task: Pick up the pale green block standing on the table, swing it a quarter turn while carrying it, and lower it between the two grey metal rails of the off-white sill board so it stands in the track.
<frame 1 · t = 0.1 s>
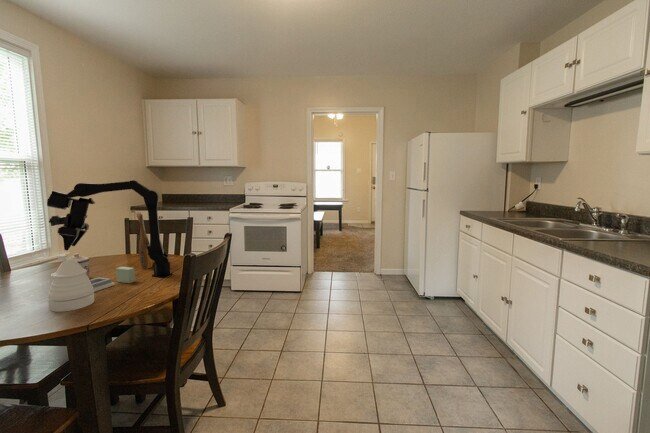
hand: (69, 248, 136), 15 cm above the table, tool pointing down, fingers open, 9 cm apart
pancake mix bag: (145, 266, 168), on the table
pale green block: (125, 281, 142), on the table
teacup with lid: (78, 278, 145), on the table
honey pot: (72, 304, 115), on the table
sill track: (91, 288, 132), on the table
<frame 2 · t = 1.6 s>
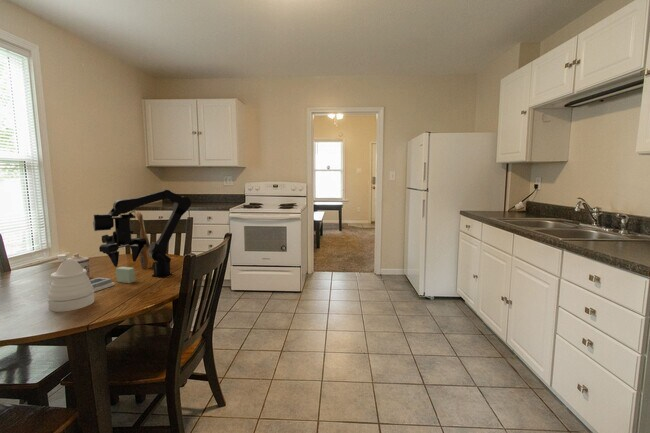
hand: (125, 264, 141), 8 cm above the table, tool pointing down, fingers open, 9 cm apart
nothing on the table moved.
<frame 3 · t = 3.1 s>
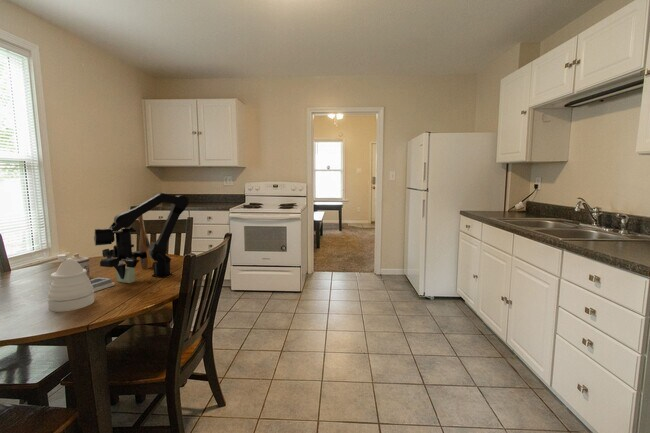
hand: (125, 277, 142), 2 cm above the table, tool pointing down, fingers closed on pale green block, 3 cm apart
pale green block: (126, 281, 142), on the table, touching gripper
everything else where it was.
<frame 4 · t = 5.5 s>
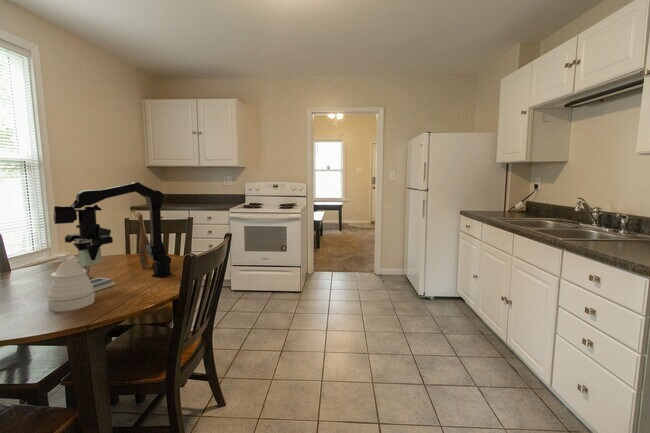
hand: (90, 260, 131), 12 cm above the table, tool pointing down, fingers closed on pale green block, 3 cm apart
pale green block: (90, 263, 131), point 10 cm above the table, touching gripper
everything else where it was.
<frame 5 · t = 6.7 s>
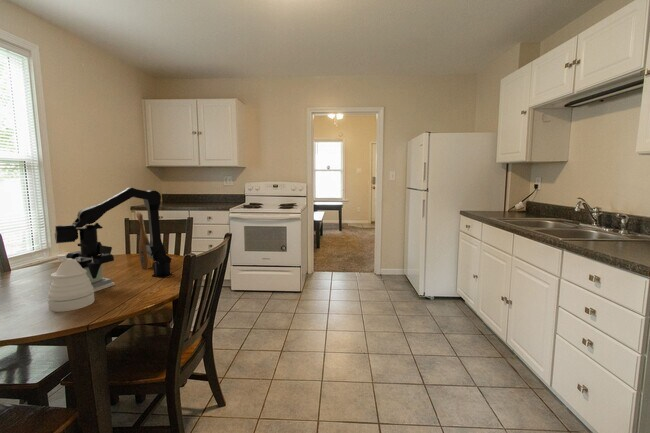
hand: (91, 277, 132), 4 cm above the table, tool pointing down, fingers closed on pale green block, 3 cm apart
pale green block: (91, 281, 132), point 3 cm above the table, touching gripper
everything else where it was.
when the fingers open (3 cm above the table, at t = 7.5 s): pale green block stays where it is, resting on sill track.
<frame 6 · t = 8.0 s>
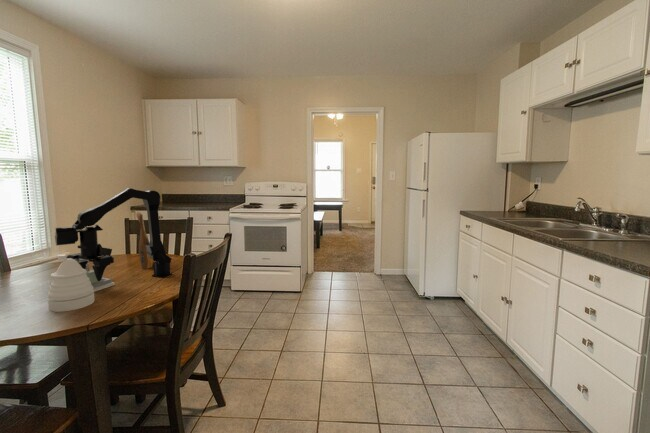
hand: (91, 279, 132), 3 cm above the table, tool pointing down, fingers open, 8 cm apart
pale green block: (92, 285, 132), point 1 cm above the table, touching sill track
everything else where it was.
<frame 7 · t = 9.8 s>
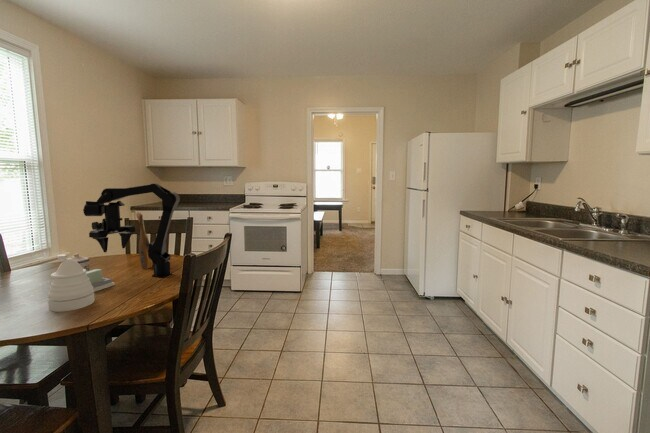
hand: (114, 250, 147), 12 cm above the table, tool pointing down, fingers open, 9 cm apart
nothing on the table moved.
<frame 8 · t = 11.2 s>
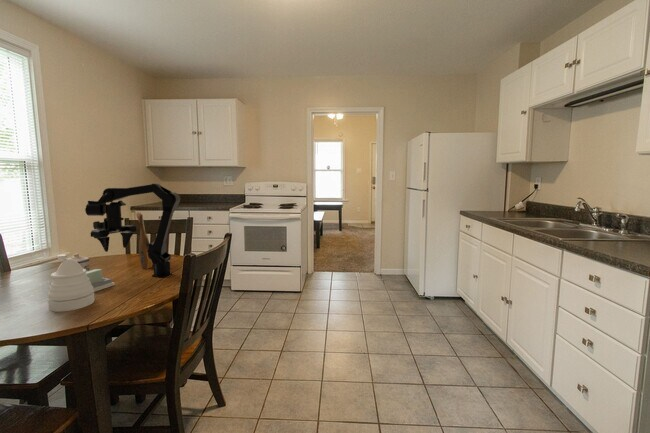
hand: (115, 249, 148), 13 cm above the table, tool pointing down, fingers open, 9 cm apart
nothing on the table moved.
at the end: pale green block 0.1 cm off-centre on the sill track, point 1.0 cm above the sill track's base; pale green block tilted 0°; the gripper is holding nothing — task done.
